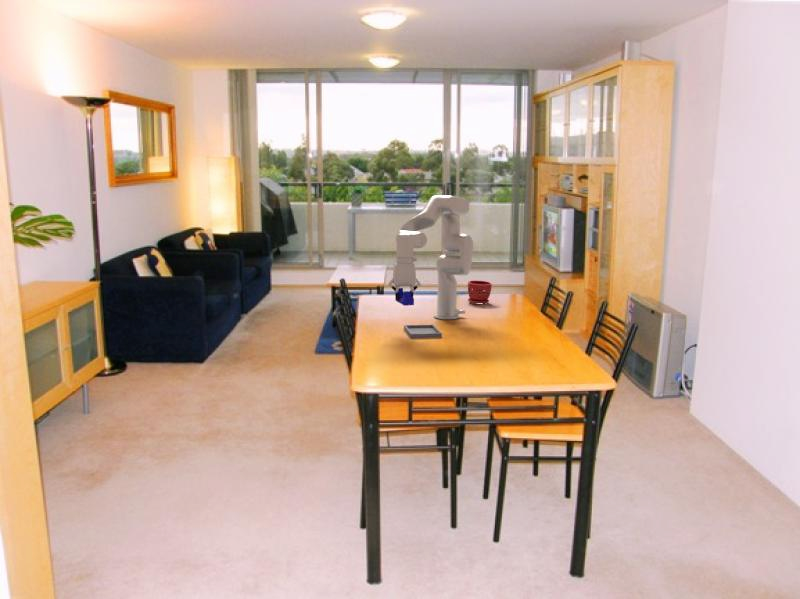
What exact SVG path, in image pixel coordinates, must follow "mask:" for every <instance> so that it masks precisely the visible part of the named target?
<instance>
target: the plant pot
mask: <svg viewBox="0 0 800 599" xmlns="http://www.w3.org/2000/svg"><path fill="white" fill-rule="evenodd" d="M492 285H493V284H492V282H489V281H486V280H469V281H468V282H467V293H468V297H469V298H467V301H468V302H469V303H470V302H471V303H470V304H472V303H487V304H488V303H489V302H490V300H489V297H490V295H491V293H492Z"/></svg>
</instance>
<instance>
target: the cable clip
mask: <svg viewBox="0 0 800 599" xmlns="http://www.w3.org/2000/svg"><path fill="white" fill-rule="evenodd" d="M398 291H399V301H397V299H395V301H396V302H397V303H399V304H401V305H402V306H404V307H405V306H414V305H415V298H414V297H413V298H412V297H411V292H410V291H404V288H403V286H400V287H399V290H398Z"/></svg>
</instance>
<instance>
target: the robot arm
mask: <svg viewBox="0 0 800 599" xmlns="http://www.w3.org/2000/svg"><path fill="white" fill-rule="evenodd" d="M470 207H471V205H470V202H469V200H468V199H467V198H465V197H461V196H460V197H459V196H457V195H448V194H447V195H445V194H444V195H443V194H436V195H433V196H431V197H430V198H429V199H428V201H427V203H426V204H425V205H424V207H423V208H422V210H421V211H420V213H419V214H417V215H415V216H413V217H412V218H410V219H408V220H407V221H405V222H404V223H403V224H402V225H401V227H400V228H399V229H398V231H397V233H396V236H395V243H396V253H395V254H396V257H395V258H396V262H395V263H394V264H393V270H392V271H393V273H392V278H391V279H390V281H389V282H388V283H387V285H388V286H389V288H391V289H392V290H393V291H394V294H395V295H394V296H395V297H394V298H395V299H397V301H399V291H398V290H399V288H401V287H409V289H410V292H411V297H412V298H414V292H415V291H416V290H417V289H418V288H419V287H420V286H421V285H422V284H421V282H420V281H419V280H418V279H417V274H416V266H415V263H414V262H417V258H415V257H414V249H422V248H424V247H425V246H426V245H427V242H428V237H427V236H426V234H425V233H424V232H422V230H425V229H429V228H433V226H435V225H436V223H437V221H438V219H440V218H441V221H442V230H441V232H442V233H441V234H442V235H441V249H442V251H444V252H446V253H447V252H448V253H455V254H460V255H455V254H454V255H453V254H442V255H439V256H438V257H437V259H436V261H435V263H436V264H435V265H436V272H437V297H436V298H437V303H436V305H437V306H436V313H434V314H433V318H436V319H439V320H456V319H459V318H460V314H461V315H462V314H463V315H465V314H466V309H458V308H457V292H458V290H457V288H458V284H457V283H458V282H457V280H456V277H455V276H467V275H469V274H470V272H471V269H472V261H473V251H474V240H473V238H472V236H471V235H470V234H467V233H460V229H461V222H460V219H459V217H458V216H461V217H463V216H465V215H468V213H469V211H470ZM397 301H396V302H397Z"/></svg>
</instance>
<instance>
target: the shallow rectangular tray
mask: <svg viewBox="0 0 800 599" xmlns="http://www.w3.org/2000/svg"><path fill="white" fill-rule="evenodd" d="M403 330H404V332H405V333H406V335H407V336H408V337H409V339H441V338H442V337H443V333H442V332H441V331H440V330H439V329H438V328H437V327H436V325H434V324H404V325H403Z"/></svg>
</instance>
